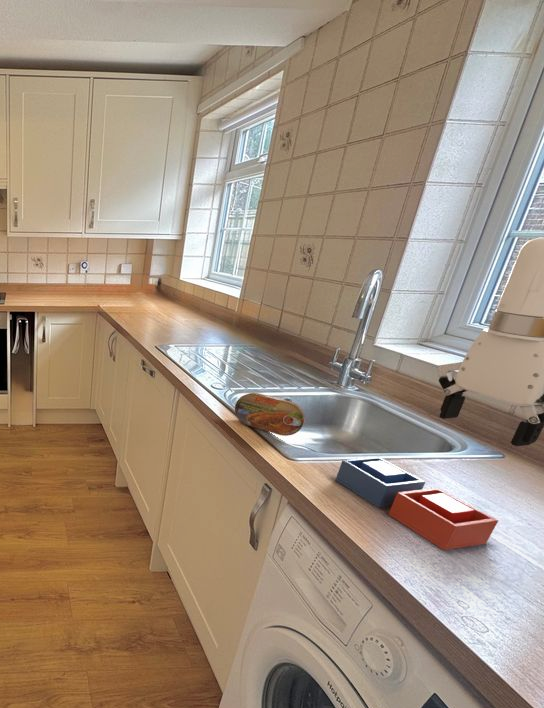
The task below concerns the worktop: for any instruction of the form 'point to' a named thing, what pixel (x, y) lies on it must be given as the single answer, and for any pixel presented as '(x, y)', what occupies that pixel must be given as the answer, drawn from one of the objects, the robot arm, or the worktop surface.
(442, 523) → the red bin
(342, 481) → the blue bin
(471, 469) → the worktop surface
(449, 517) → the red block
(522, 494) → the worktop surface
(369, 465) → the blue block
